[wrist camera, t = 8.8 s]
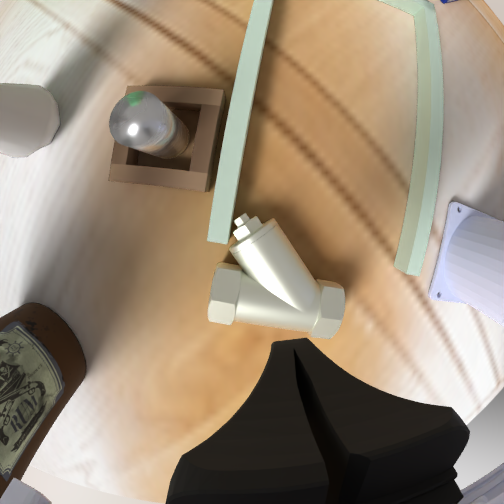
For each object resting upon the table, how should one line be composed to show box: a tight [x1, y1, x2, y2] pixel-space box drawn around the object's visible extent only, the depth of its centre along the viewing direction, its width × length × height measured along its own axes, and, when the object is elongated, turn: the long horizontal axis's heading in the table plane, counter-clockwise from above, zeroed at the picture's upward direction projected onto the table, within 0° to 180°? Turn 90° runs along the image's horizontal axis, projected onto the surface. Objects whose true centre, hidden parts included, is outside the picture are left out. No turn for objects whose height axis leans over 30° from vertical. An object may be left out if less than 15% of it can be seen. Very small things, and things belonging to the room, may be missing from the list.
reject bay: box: [207, 0, 444, 276], centre depth 15 cm, size 14×24×2 cm, turn 170°
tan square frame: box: [109, 86, 226, 192], centre depth 16 cm, size 6×6×2 cm
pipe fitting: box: [208, 213, 345, 339], centre depth 17 cm, size 8×4×7 cm
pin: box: [109, 91, 189, 159], centre depth 14 cm, size 3×3×6 cm
